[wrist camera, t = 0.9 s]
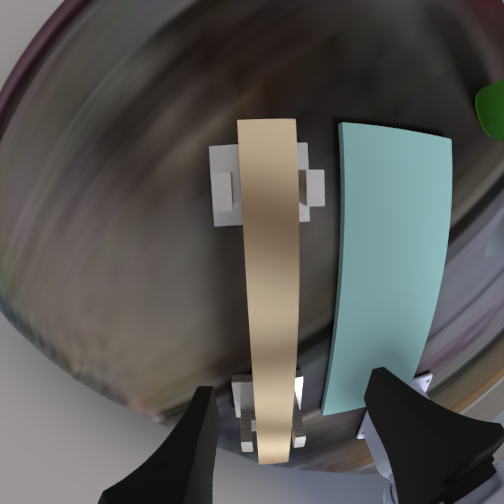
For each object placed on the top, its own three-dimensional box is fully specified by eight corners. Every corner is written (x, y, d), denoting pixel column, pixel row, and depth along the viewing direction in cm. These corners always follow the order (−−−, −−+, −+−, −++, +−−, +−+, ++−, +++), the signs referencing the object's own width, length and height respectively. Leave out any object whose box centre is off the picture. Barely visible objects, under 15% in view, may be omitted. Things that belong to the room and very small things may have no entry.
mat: (403, 390, 24) (406, 395, 23) (320, 410, 24) (322, 415, 23) (445, 139, 16) (450, 139, 16) (338, 124, 16) (342, 122, 15)
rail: (284, 440, 20) (288, 461, 17) (257, 443, 19) (259, 464, 17) (286, 127, 12) (295, 119, 10) (237, 128, 12) (237, 120, 10)
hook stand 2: (298, 404, 23) (309, 454, 17) (236, 409, 23) (236, 461, 17) (301, 369, 22) (316, 423, 16) (231, 374, 22) (230, 430, 16)
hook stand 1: (305, 218, 18) (336, 243, 12) (215, 223, 18) (203, 250, 12) (303, 144, 16) (335, 132, 11) (210, 147, 16) (194, 135, 10)
